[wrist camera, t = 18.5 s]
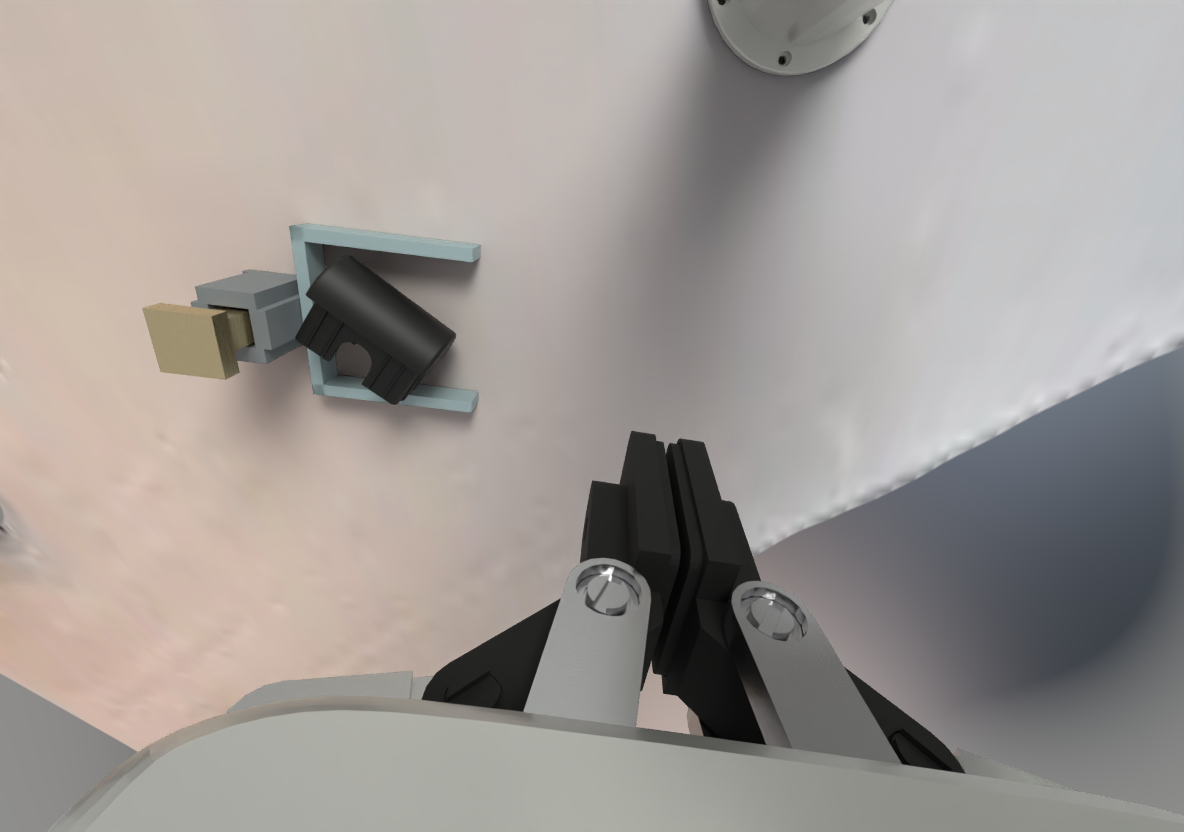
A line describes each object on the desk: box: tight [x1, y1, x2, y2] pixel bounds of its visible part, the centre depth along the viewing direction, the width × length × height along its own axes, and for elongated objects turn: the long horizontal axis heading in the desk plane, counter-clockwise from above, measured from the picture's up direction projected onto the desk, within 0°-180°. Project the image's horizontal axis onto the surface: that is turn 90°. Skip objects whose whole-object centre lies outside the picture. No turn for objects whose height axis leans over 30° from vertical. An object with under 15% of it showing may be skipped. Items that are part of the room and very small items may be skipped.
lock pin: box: [142, 303, 255, 380], centre depth 38 cm, size 4×4×10 cm
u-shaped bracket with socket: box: [191, 223, 480, 413], centre depth 40 cm, size 14×20×7 cm
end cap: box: [295, 256, 456, 405], centre depth 40 cm, size 10×7×7 cm
